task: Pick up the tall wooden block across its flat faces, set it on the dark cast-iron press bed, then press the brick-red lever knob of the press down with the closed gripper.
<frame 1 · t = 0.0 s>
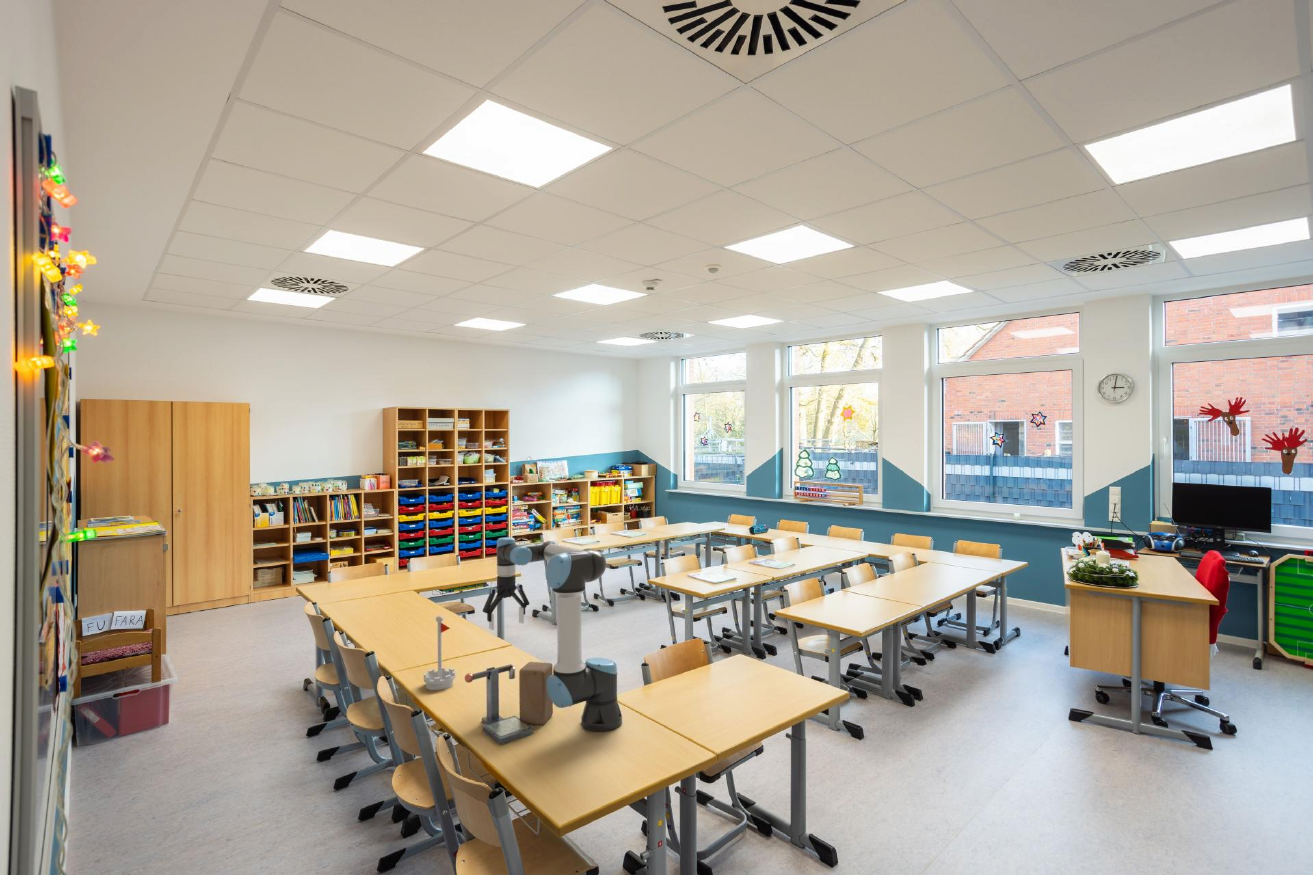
hand: (506, 625, 265), 28 cm above the table, fingers open, 13 cm apart
flag stand: (439, 685, 274), on the table
press: (507, 732, 228), on the table
wooden block: (536, 719, 239), on the table
lever: (490, 675, 237), point 17 cm above the table, hinge at 0.0°
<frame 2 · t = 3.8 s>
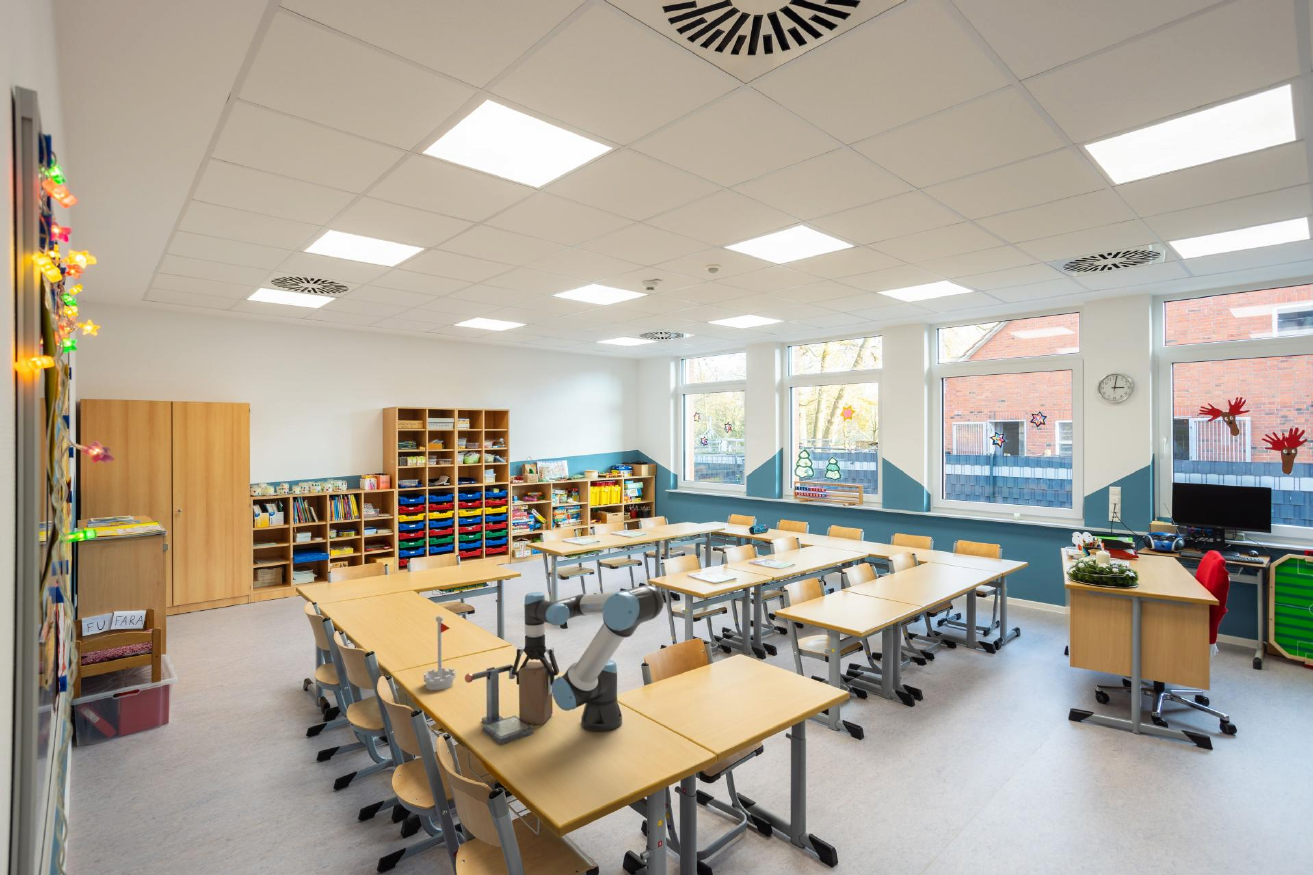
hand: (535, 693, 239), 10 cm above the table, fingers closed on wooden block, 10 cm apart
wooden block: (536, 719, 239), on the table, touching gripper
everything else where it was.
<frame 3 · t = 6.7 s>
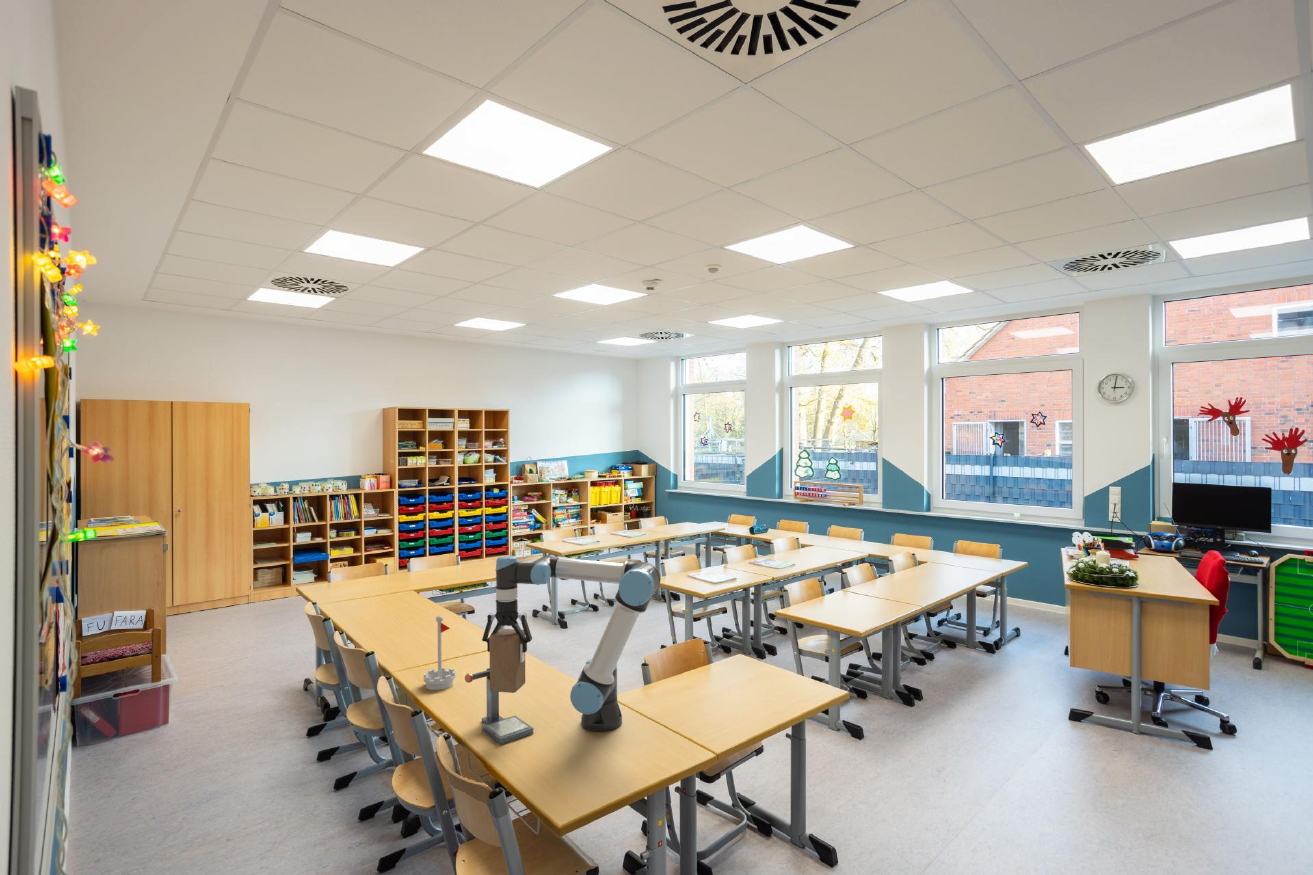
hand: (507, 660, 229), 26 cm above the table, fingers closed on wooden block, 10 cm apart
wooden block: (507, 688, 229), point 16 cm above the table, touching gripper
everything else where it was.
when the fingers open (13 cm above the table, at t = 9.4 s): wooden block drops 1 cm, resting on press.
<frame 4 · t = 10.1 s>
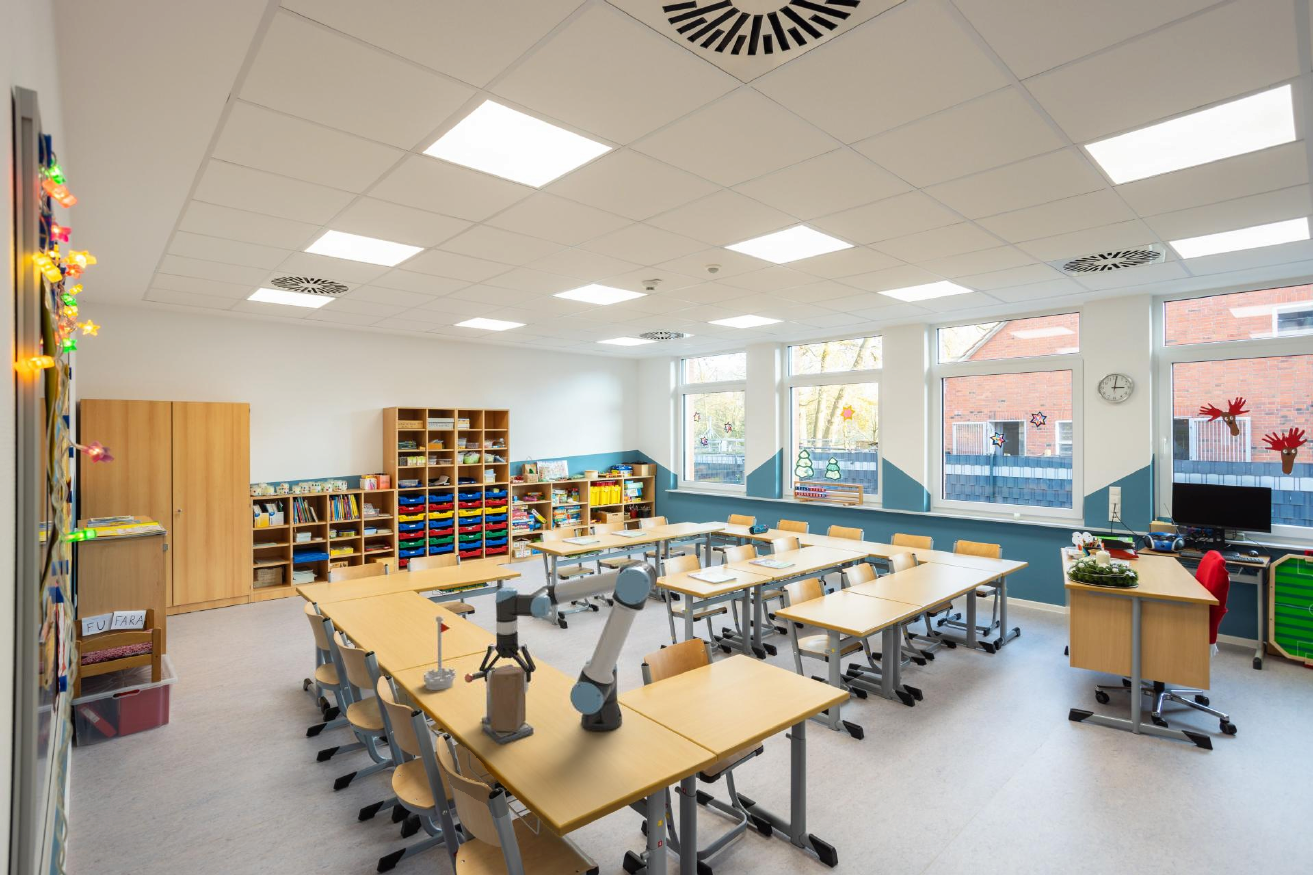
hand: (507, 690, 229), 15 cm above the table, fingers open, 13 cm apart
wooden block: (508, 726, 229), point 2 cm above the table, touching press
everything else where it was.
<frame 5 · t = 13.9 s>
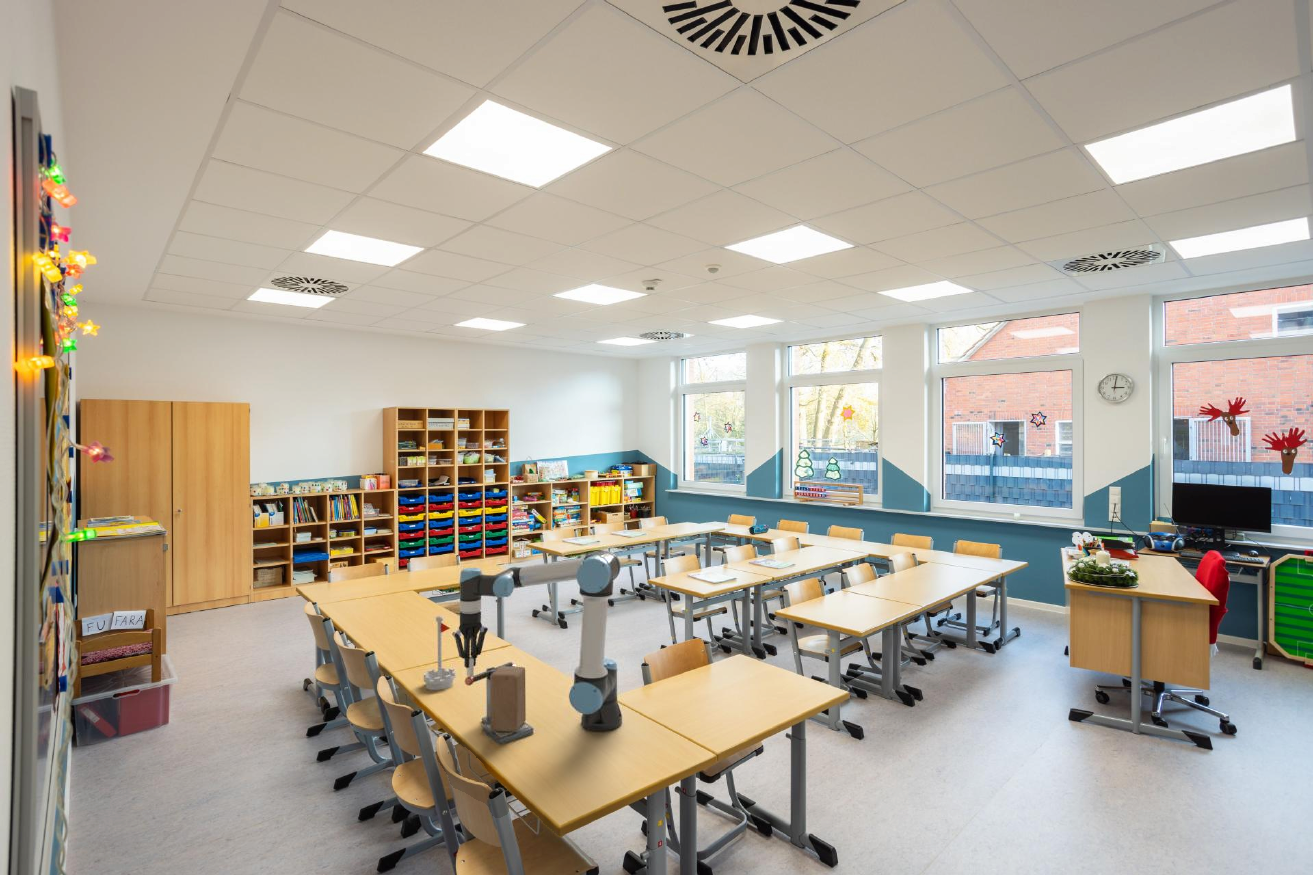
hand: (470, 675, 232), 19 cm above the table, fingers closed
lever: (490, 675, 237), point 17 cm above the table, hinge at 6.7°, touching gripper
everything else where it was.
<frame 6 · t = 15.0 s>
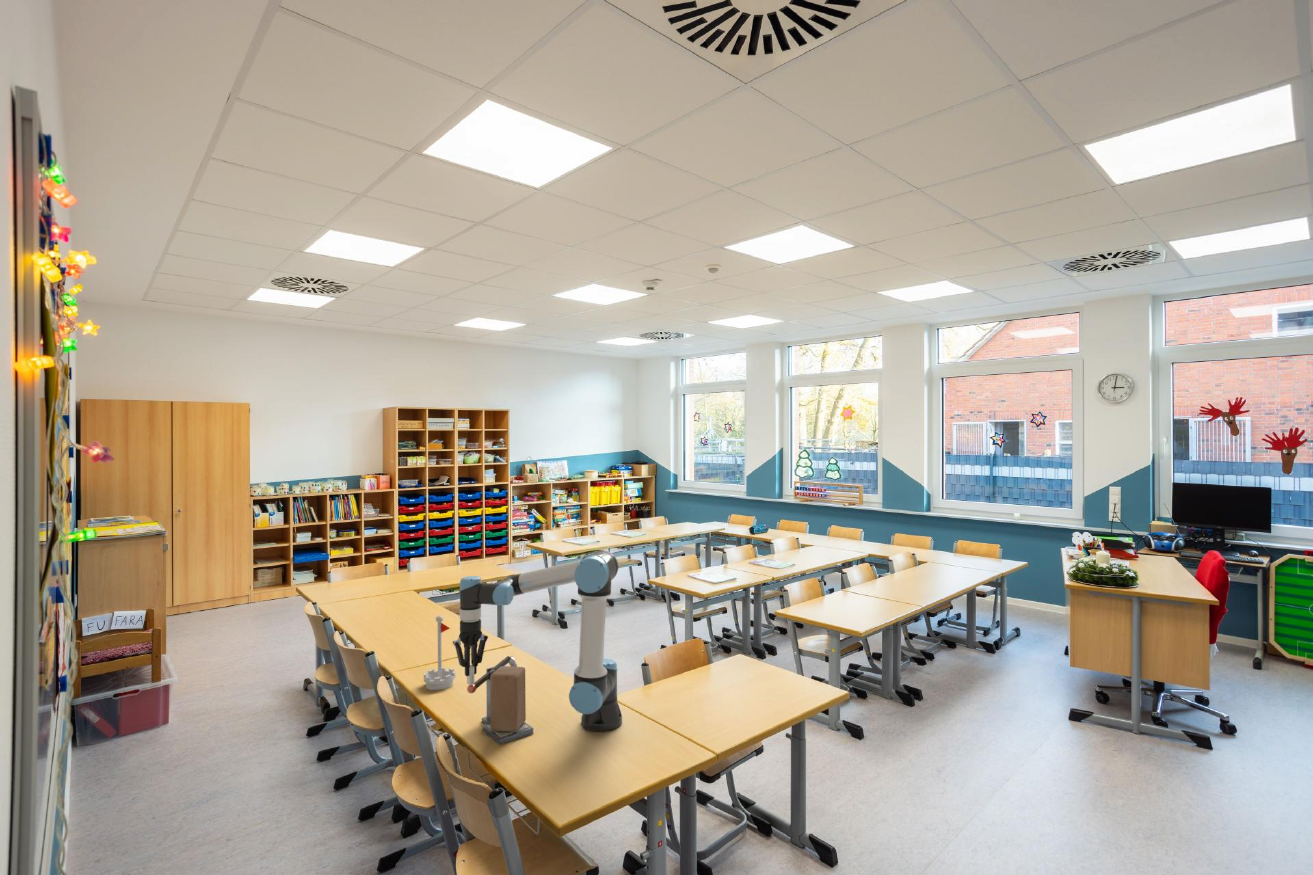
hand: (470, 683, 232), 16 cm above the table, fingers closed
lever: (492, 676, 238), point 17 cm above the table, hinge at 26.6°, touching gripper
everything else where it was.
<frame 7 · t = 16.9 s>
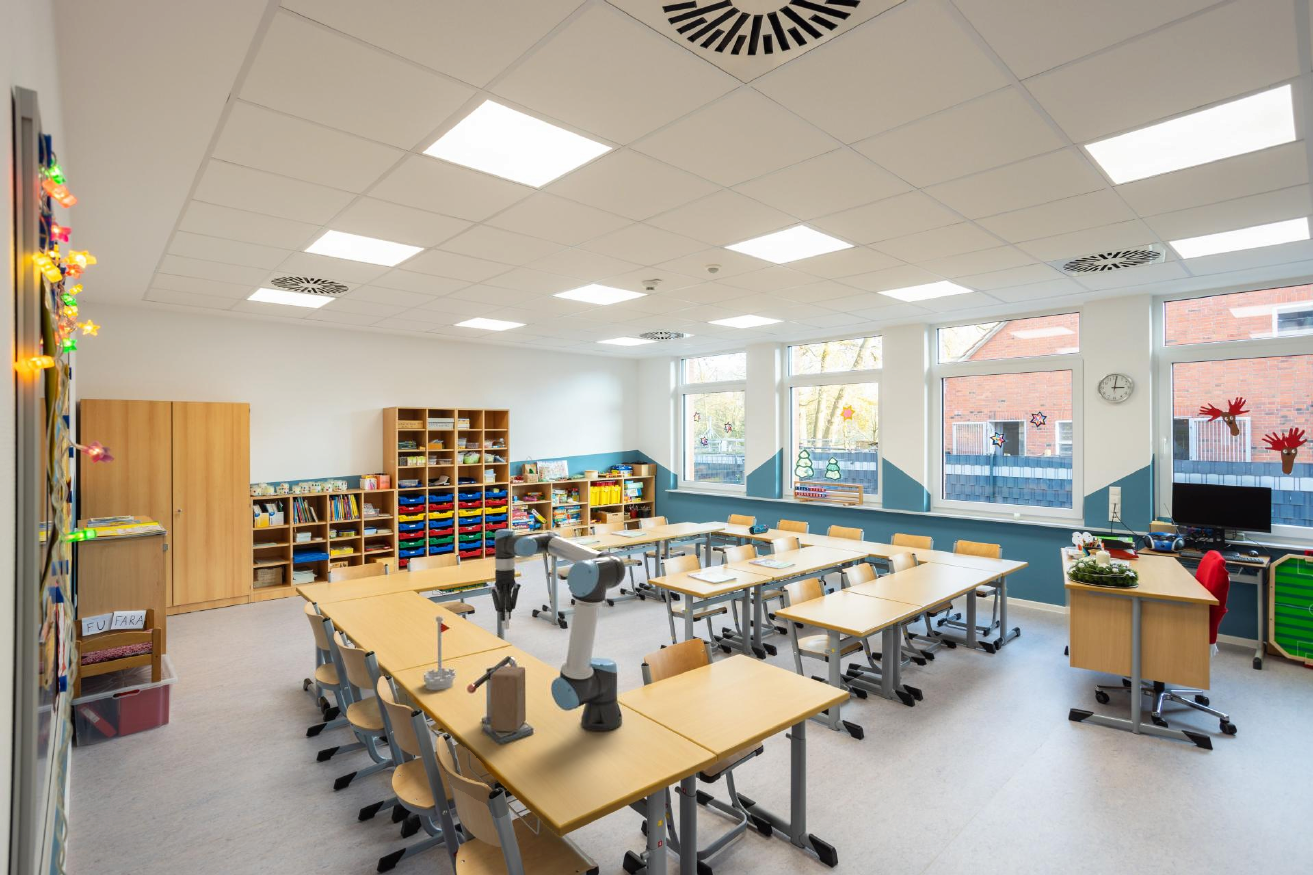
hand: (505, 628, 250), 31 cm above the table, fingers closed
lever: (492, 676, 238), point 17 cm above the table, hinge at 26.6°
everything else where it was.
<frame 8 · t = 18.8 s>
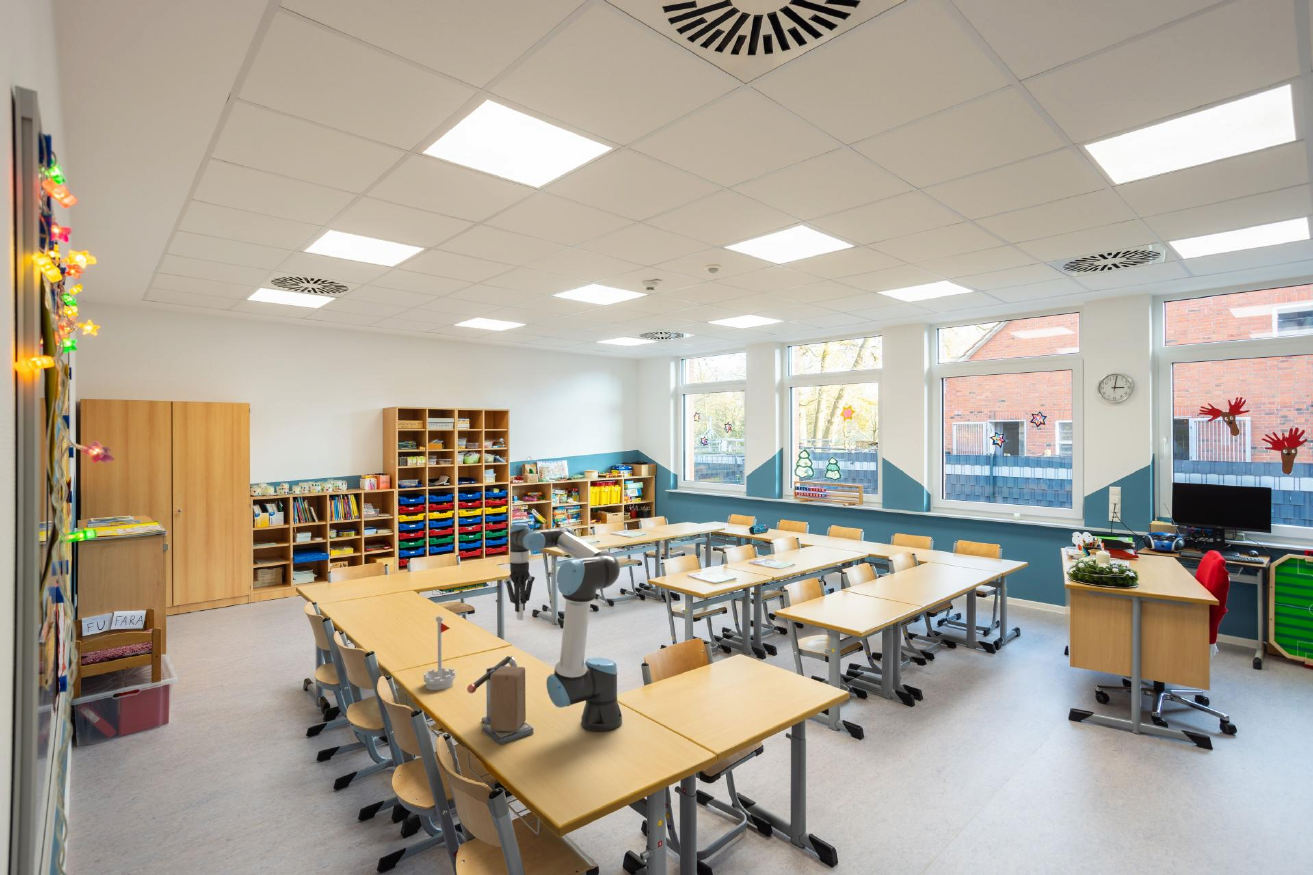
hand: (520, 619, 259), 32 cm above the table, fingers closed
nothing on the table moved.
at the end: wooden block 0.3 cm from the press (horizontally); wooden block tilted 0°; lever at +27° (first picture: +0°) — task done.
